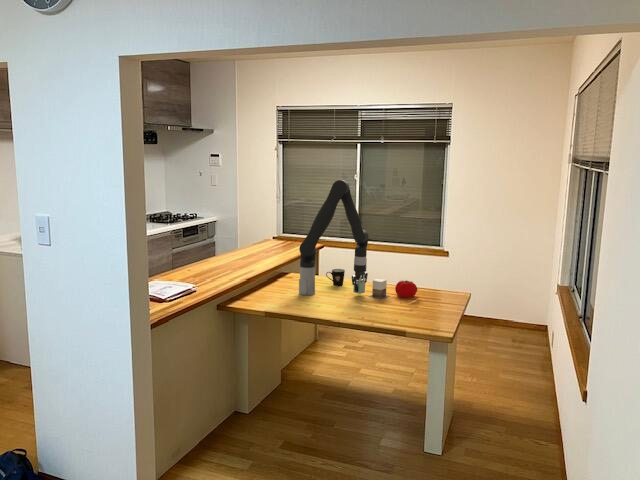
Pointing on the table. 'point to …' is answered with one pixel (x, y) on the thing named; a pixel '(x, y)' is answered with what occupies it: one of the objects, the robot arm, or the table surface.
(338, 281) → the coffee mug
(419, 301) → the table surface
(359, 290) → the sage block
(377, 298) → the slate coaster
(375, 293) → the walnut block
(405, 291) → the tomato
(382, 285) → the cream block
